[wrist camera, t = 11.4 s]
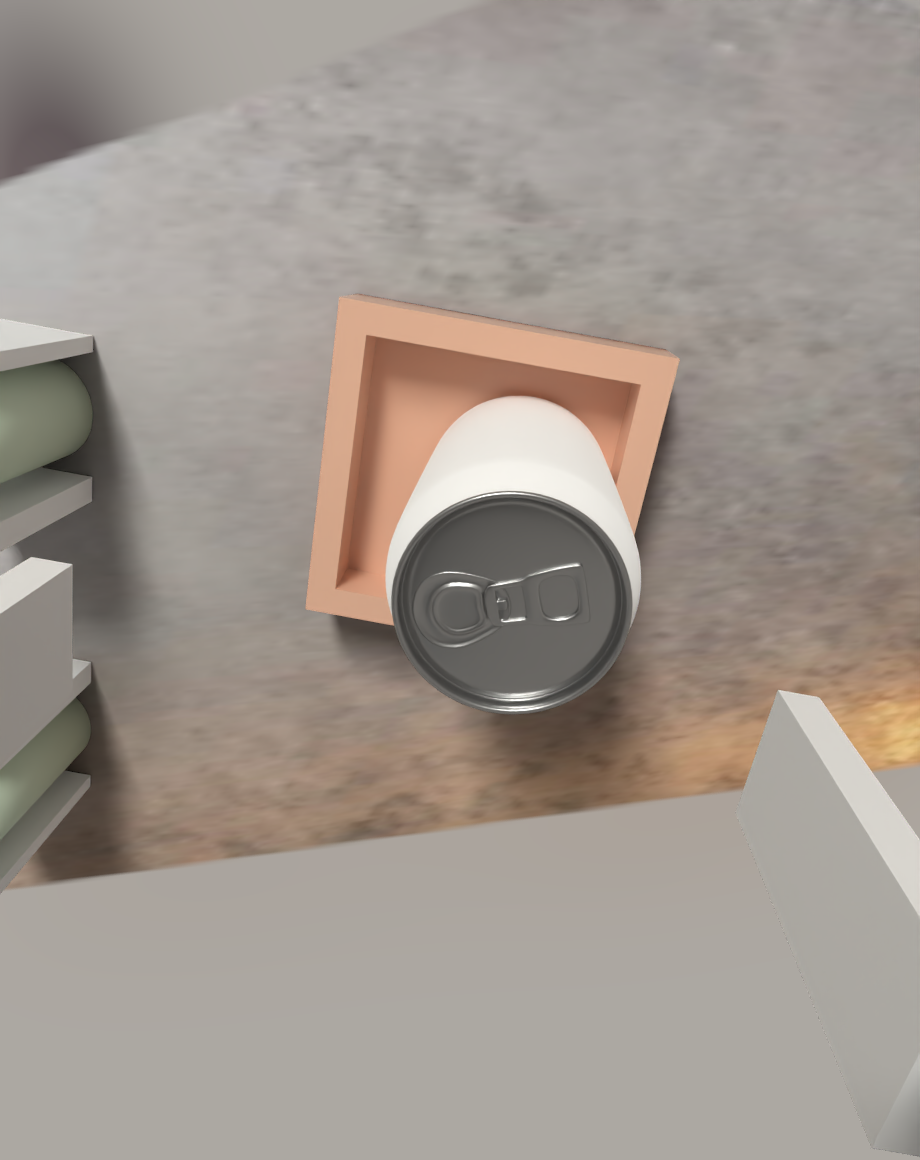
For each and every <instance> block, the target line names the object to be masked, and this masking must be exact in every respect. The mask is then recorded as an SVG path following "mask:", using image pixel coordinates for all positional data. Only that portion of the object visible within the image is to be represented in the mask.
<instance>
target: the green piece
mask: <svg viewBox="0 0 920 1160" xmlns="http://www.w3.org/2000/svg"><path fill="white" fill-rule="evenodd" d="M92 422H93V409H92V404H91V400H90V397H89V394H88V392H87V389H86V387H85V386H84V384H83V382H82V381H81V380H80V378H79V377H78V376H77V374H76V373H75V372H74V371H73V370H72V369H71V368H69V367H68V366H67V365H66V364H64V363H63V362H61V361H60V360H53V361H48V362H43V363H38V364H34V365H29V366H24V367H19V368H15V369H10V370H5V371H0V484H1V483H3V482H6V481H8V480H10V479H13V478H15V477H18V476H20V475H22V474H25V473H27V472H30V471H32V470H34V469H37V468H39V467H42V466H44V465H46V464H49V463H51V462H53V461H56V460H58V459H61V458H63V457H65V456H68V455H70V454H72V453H74V452H75V451H77V450H78V449H79V448H80V447H81V446H82V445H83V444H84V442H85V441H86V440H87V438H88V436H89V434H90V431H91V427H92Z"/></svg>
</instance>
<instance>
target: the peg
mask: <svg viewBox="0 0 920 1160" xmlns="http://www.w3.org/2000/svg"><path fill="white" fill-rule="evenodd" d="M90 735H91V724H90V719H89V716H88V714H87V712H86V710H85V708H84V707H83V705H82V704H81V703H80V701H79V700H78V699H77V698H74V699H73V700H72V701H71V702H70V703H69V704H68V705H67V706H66V707H65V708H64V709H63V710H62V711H61V712H60V713H59V714H58V715H57V716H56V717H55V718H54V719H53V720H52V721H51V722H49V723H48V724H47V725H46V726H45V727H44V728H43V729H42V730H41V731H40V732H39V733H38V734H37V735H36V736H35V737H34V738H33V739H32V740H31V741H30V742H29V743H28V744H27V745H26V746H24V747H23V748H22V749H21V750H20V751H19V752H18V753H17V754H16V755H15V756H14V757H13V758H12V759H11V760H10V761H9V762H8V763H7V764H6V765H5V766H4V767H3V768H2V769H1V770H0V840H1V839H2V838H3V837H4V836H5V835H6V834H7V833H8V832H9V830H10V829H11V828H12V827H13V826H14V825H15V824H16V823H17V822H18V821H19V820H20V818H21V817H22V816H23V815H24V814H25V813H26V812H27V811H28V810H29V809H30V807H31V806H32V805H33V804H34V803H35V802H36V801H37V800H38V799H39V798H40V797H41V795H42V794H43V793H44V792H45V791H46V790H47V789H48V788H49V787H50V786H51V785H52V783H53V782H54V781H55V780H56V779H57V778H58V777H59V776H60V775H61V774H62V772H63V771H64V770H65V769H66V768H67V767H68V766H69V765H70V764H71V763H72V762H73V760H74V759H75V758H76V757H77V756H78V755H79V754H80V753H81V752H82V751H83V749H84V748H85V747H86V746H87V744H88V742H89V739H90Z"/></svg>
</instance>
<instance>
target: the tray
mask: <svg viewBox="0 0 920 1160" xmlns="http://www.w3.org/2000/svg"><path fill="white" fill-rule="evenodd" d="M679 360H680V359H679V358H678V357H676V356H675V355H673V354H672V353H670V352H669V351H667V350H666V349H660V348H655V347H649V346H644V345H638V344H633V343H627V342H622V341H616V340H611V339H605V338H600V337H594V336H589V335H583V334H577V333H572V332H566V331H561V330H555V329H550V328H544V327H539V326H533V325H528V324H522V323H517V322H511V321H506V320H500V319H495V318H489V317H484V316H478V315H473V314H467V313H462V312H456V311H451V310H445V309H440V308H434V307H429V306H423V305H417V304H412V303H406V302H401V301H395V300H390V299H384V298H379V297H373V296H368V295H362V294H353V295H347V296H342V297H339V305H338V314H337V323H336V332H335V342H334V351H333V360H332V369H331V378H330V388H329V397H328V406H327V415H326V424H325V434H324V443H323V452H322V461H321V471H320V480H319V489H318V498H317V507H316V517H315V526H314V535H313V544H312V553H311V563H310V572H309V581H308V590H307V599H306V609H307V610H313V611H318V612H323V613H329V614H334V615H340V616H345V617H350V618H356V619H361V620H366V621H372V622H377V623H383V624H388V625H393V626H394V623H393V617H392V614H391V611H390V608H389V604H388V599H387V593H386V581H385V577H386V563H387V556H388V551H389V547H390V543H391V540H392V537H393V534H394V532H395V529H396V527H397V524H398V522H399V520H400V518H401V515H402V513H403V511H404V509H405V507H406V505H407V503H408V501H409V499H410V497H411V495H412V493H413V491H414V489H415V487H416V485H417V483H418V481H419V479H420V477H421V475H422V473H423V471H424V469H425V467H426V465H427V463H428V461H429V459H430V457H431V455H432V454H433V452H434V450H435V448H436V446H437V444H438V443H439V441H440V439H441V438H442V436H443V435H444V433H445V432H446V431H447V430H448V428H449V427H450V426H451V425H452V424H453V423H454V422H455V421H456V420H457V419H458V418H459V417H460V416H462V415H463V414H464V413H466V412H467V411H468V410H470V409H472V408H473V407H475V406H477V405H479V404H481V403H484V402H486V401H489V400H492V399H496V398H500V397H506V396H531V397H537V398H541V399H545V400H548V401H550V402H553V403H555V404H557V405H559V406H561V407H563V408H565V409H566V410H568V411H569V412H571V413H572V414H574V415H575V416H576V417H577V418H578V419H579V420H580V421H582V422H583V424H584V425H585V426H586V427H587V428H588V429H589V430H590V432H591V433H592V435H593V436H594V438H595V439H596V441H597V443H598V445H599V447H600V449H601V451H602V453H603V455H604V458H605V460H606V463H607V465H608V468H609V470H610V473H611V475H612V478H613V480H614V483H615V485H616V488H617V491H618V493H619V496H620V499H621V501H622V504H623V507H624V509H625V512H626V515H627V517H628V520H629V523H630V526H631V528H632V531H633V534H634V535H635V531H636V527H637V523H638V519H639V516H640V512H641V508H642V504H643V500H644V496H645V492H646V488H647V484H648V481H649V477H650V473H651V469H652V465H653V461H654V457H655V453H656V449H657V446H658V442H659V438H660V434H661V430H662V426H663V422H664V418H665V415H666V411H667V407H668V403H669V399H670V395H671V391H672V387H673V383H674V380H675V376H676V372H677V368H678V364H679Z"/></svg>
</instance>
